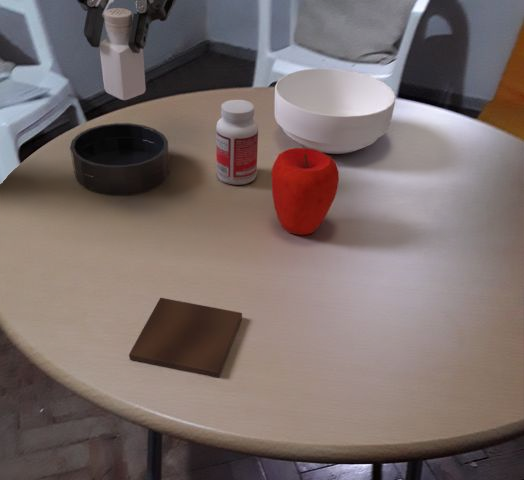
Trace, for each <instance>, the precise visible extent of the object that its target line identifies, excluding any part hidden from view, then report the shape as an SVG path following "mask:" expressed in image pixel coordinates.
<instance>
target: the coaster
mask: <svg viewBox="0 0 524 480" xmlns="http://www.w3.org/2000/svg"><path fill="white" fill-rule="evenodd" d="M242 319H243V313H242V312H240V311H235V310H229V309H223V308H218V307H213V306H207V305H204V304H203V305H202V304H197V303H191V302H186V301H181V300H177V299H176V300H175V299H171V298H165V297H159V299H158V301H157V302H156V305H155V306H154V308H153V310H152V311H151V314H150V315H149V317H148V319H147V321H146V323H145V325H144V326H143V328H142V330H141V331H140V334H139V335H138V337H137V339H136V341H135V342H134V344H133V346H132V348H131V350H130V352H129V354H128V357H129V360H130V361H136V362H137V361H138V362H141V363H147V364H151V365H157V366H162V367H166V368H171V369H177V370H179V371H186V372H191V373H195V374H202V375H204V376H205V375H206V376H211V377H215V378H220V375H221V373H222V370H223V368H224V365H225V362H226V361H227V357H228V355H229V352H230V349H231V347H232V344H233V342H234V339H235V337H236V334H237V331H238V330H239V329H238V328H239V327H240V323H241V322H242Z"/></svg>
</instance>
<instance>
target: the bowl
mask: <svg viewBox="0 0 524 480" xmlns="http://www.w3.org/2000/svg"><path fill="white" fill-rule="evenodd" d="M396 98H397V97H396V95H395V91H394V90H393V88H392V87H390V86H389V85H388V84H387V83H385V82H384V81H382V80H380V79H378V78H377V77H374V76H371V75H369V74H366V73H361V72H358V71H353V70H347V69H340V68H330V67H329V68H325V67H324V68H317V67H316V68H308V69H307V68H306V69H301V70H296V71H293V72H289V73H288V74H286V75H284V76H282V77H281V78H279V79H278V80H277V81H276V84H275V85H274V120H275V121H276V123H277V124H278V125H279V126H280V127H281V129H282V131H283V133H284V134H285V135H286V136H287V137H289V138H290V139H292V140H293V141H294V142H296V143H297V144H298V145H300V146H302V147H303V148H307V149H314V150H317V151H320V152H322V153H324V154H334V155H335V154H336V155H338V154H339V155H340V154H348V153H349V154H350V153H353V152H357V151H358V150H361V149H364V148H366V147H368V146H370V145H372V144H374V143H375V142H377V140H379V138H381V137H382V136H384V135H385V134H386V133H387V132H388V130H389V129H390V125H391V121H392V118H393V114H394V109H395V105H396V100H397V99H396Z"/></svg>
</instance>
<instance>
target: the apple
mask: <svg viewBox="0 0 524 480" xmlns="http://www.w3.org/2000/svg"><path fill="white" fill-rule="evenodd" d="M339 180H340V176H339V168H338V164H337V162H336V161H335V160H334V159H333V158H332V156H330V155H327V153H323V152H320V151H317V150H314V149H308V148H306V147H303V148H302V147H294V148H288V149H286V150H284V151H281V152H280V153H279V154H278V155H277V157H276V159H275V161H274V163H273V164H272V169H271V192H272V193H271V194H272V200H273V207H274V209H275V213H276V215H277V218H278V222H279V224H280V226H281V228H283V230H284V231H286V232H287V233H291V234H294V235H300V236H305V235H309V234H312V233H314V232H315V231H316V230H317V229H318V228H319V227H320V225H321V224H322V223H323V222H324V220H325V218H326V216H327V215H328V212H329V210H330V208H331V207H332V205H333V202H334V200H335V198H336V195H337V192H338V188H339Z"/></svg>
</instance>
